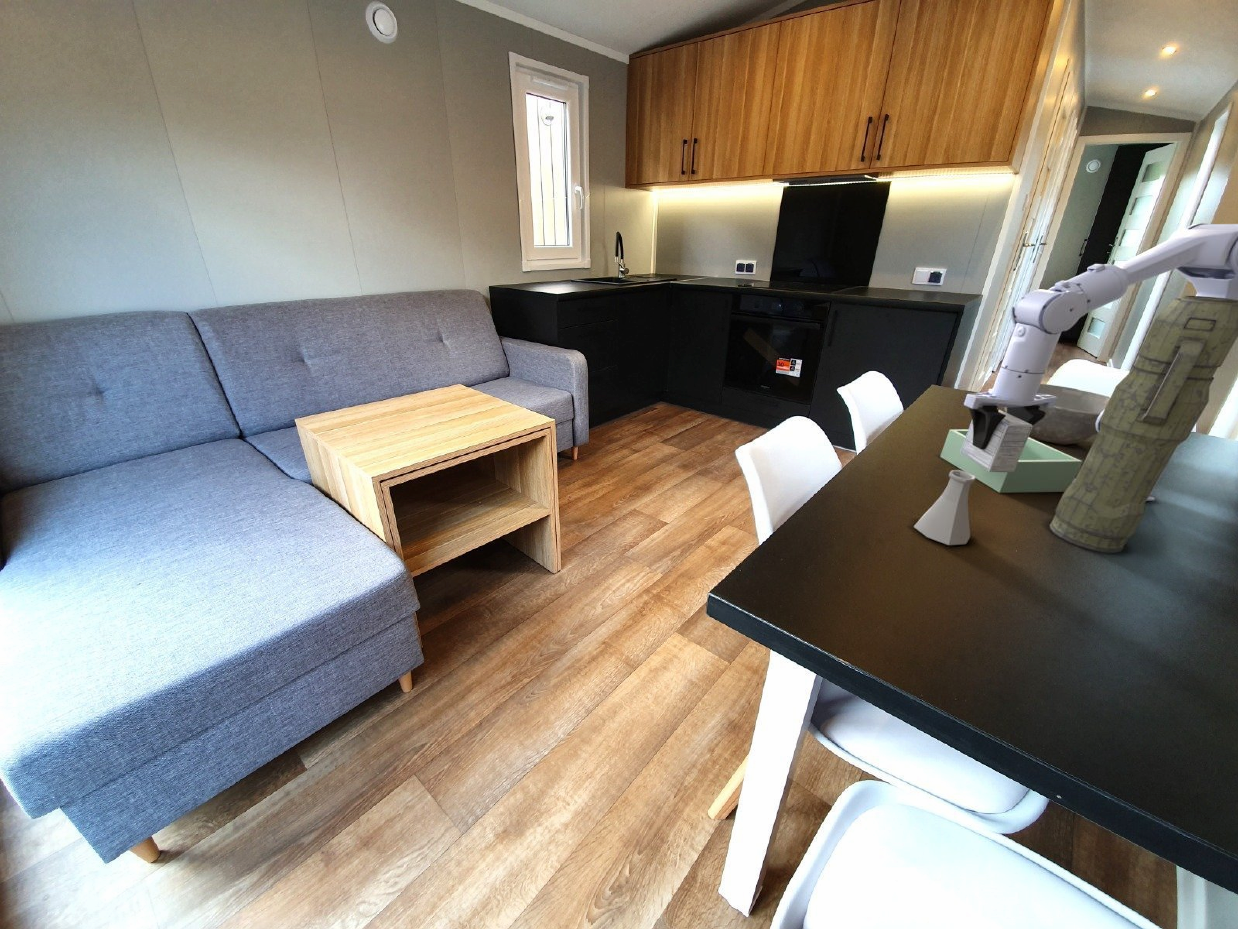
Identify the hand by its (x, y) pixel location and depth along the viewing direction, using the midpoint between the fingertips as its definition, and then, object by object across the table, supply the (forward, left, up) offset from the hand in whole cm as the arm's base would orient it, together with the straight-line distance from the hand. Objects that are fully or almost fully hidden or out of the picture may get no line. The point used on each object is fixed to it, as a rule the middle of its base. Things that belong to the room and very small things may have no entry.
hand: (992, 446), depth 84 cm
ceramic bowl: (-38, -25, -9) cm, 46 cm away
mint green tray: (-11, -7, -9) cm, 15 cm away
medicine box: (0, 0, -3) cm, 3 cm away
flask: (+16, +13, -9) cm, 23 cm away
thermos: (-6, +15, -9) cm, 18 cm away
